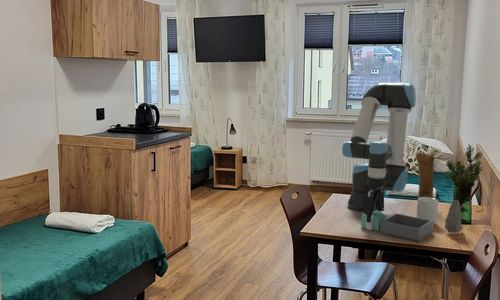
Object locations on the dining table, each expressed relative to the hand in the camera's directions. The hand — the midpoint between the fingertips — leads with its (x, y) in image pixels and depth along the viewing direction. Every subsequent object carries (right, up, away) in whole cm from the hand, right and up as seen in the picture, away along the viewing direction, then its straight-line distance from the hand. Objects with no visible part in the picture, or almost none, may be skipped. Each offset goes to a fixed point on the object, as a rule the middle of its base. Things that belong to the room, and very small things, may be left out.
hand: (373, 227), depth 211 cm
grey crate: (+12, -2, -7) cm, 14 cm away
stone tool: (+33, -2, -4) cm, 34 cm away
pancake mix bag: (+38, +4, +43) cm, 57 cm away
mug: (+27, 0, +12) cm, 30 cm away
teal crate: (0, 0, 0) cm, 0 cm away
